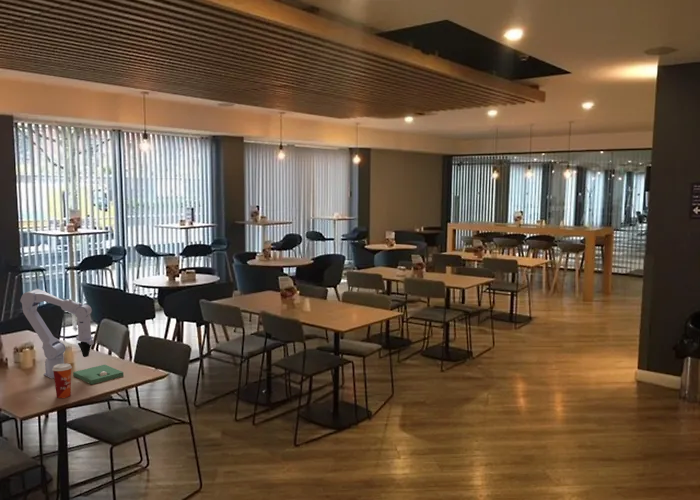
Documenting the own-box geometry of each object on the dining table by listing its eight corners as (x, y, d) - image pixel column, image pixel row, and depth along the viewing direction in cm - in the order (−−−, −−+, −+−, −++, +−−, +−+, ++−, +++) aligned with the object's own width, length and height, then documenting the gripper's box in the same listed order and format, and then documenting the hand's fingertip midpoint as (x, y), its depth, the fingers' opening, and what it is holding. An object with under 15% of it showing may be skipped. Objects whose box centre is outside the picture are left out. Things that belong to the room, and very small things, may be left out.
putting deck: (73, 375, 286) (73, 372, 286) (105, 368, 298) (104, 364, 298) (91, 384, 274) (91, 380, 273) (123, 376, 286) (123, 372, 285)
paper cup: (65, 399, 254) (63, 368, 253) (50, 398, 256) (48, 367, 254) (77, 393, 262) (75, 363, 260) (62, 392, 263) (60, 362, 262)
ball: (102, 380, 280) (98, 378, 282) (109, 377, 282) (106, 376, 285) (101, 373, 279) (97, 371, 282) (108, 370, 282) (105, 369, 284)
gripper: (99, 330, 283) (100, 357, 285) (85, 325, 293) (87, 352, 294) (84, 333, 278) (86, 360, 279) (71, 328, 287) (73, 355, 289)
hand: (85, 356), depth 286 cm, fingers closed
